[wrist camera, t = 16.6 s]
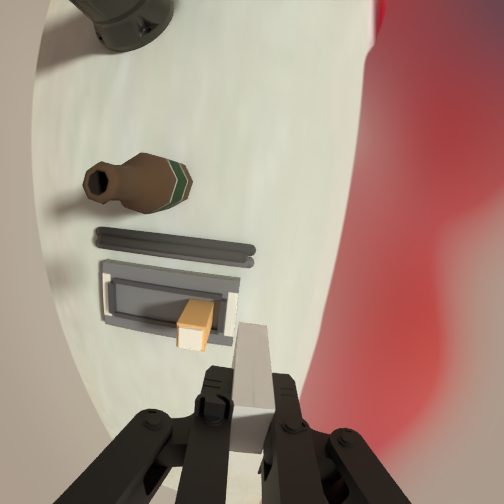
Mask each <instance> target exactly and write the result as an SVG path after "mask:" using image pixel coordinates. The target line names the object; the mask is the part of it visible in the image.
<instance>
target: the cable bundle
mask: <svg viewBox="0 0 504 504" xmlns="http://www.w3.org/2000/svg"><path fill="white" fill-rule="evenodd" d="M96 234H97V235H98V238H97V241H96V245H97V247H98V248H103V249H110V250H116V251H123V252H130V253H138V254H145V255H152V256H159V257H167V258H174V259H181V260H189V261H196V262H204V263H212V264H220V265H227V266H235V267H243V268H251V267H252V266H253V265H254V260H253V258H251V257H248V256H252V255H254V254H255V252H256V248H255V247H254V246H253V245H250V244H242V243H234V242H226V241H218V240H210V239H202V238H194V237H186V236H177V235H169V234H161V233H152V232H144V231H135V230H127V229H118V228H110V227H98V228H97V230H96Z"/></svg>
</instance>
